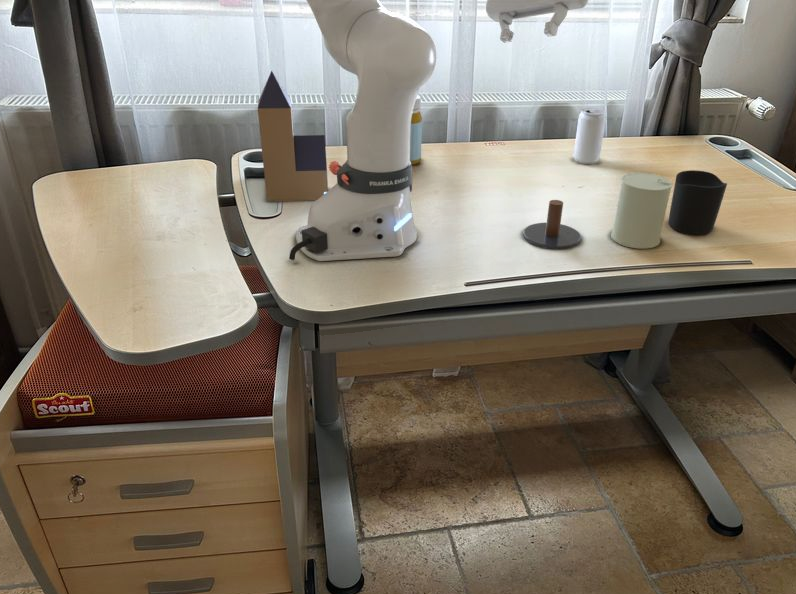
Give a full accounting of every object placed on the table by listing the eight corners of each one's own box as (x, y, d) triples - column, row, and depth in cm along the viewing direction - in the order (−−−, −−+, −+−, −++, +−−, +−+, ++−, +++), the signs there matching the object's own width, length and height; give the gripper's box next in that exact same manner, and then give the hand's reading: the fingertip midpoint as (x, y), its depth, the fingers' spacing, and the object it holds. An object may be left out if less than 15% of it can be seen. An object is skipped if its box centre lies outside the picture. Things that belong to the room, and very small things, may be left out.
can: (661, 251, 133) (675, 189, 127) (610, 245, 135) (622, 184, 128) (658, 231, 141) (671, 172, 134) (610, 226, 142) (621, 167, 136)
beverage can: (568, 157, 177) (574, 107, 170) (591, 155, 179) (599, 106, 172) (580, 165, 172) (587, 115, 165) (603, 164, 174) (612, 113, 167)
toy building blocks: (267, 201, 147) (254, 74, 134) (269, 170, 163) (257, 53, 149) (328, 199, 149) (321, 74, 136) (324, 168, 165) (318, 53, 151)
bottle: (425, 164, 169) (426, 99, 161) (397, 167, 167) (397, 101, 159) (414, 155, 175) (416, 91, 166) (387, 157, 172) (387, 93, 164)
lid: (541, 252, 131) (545, 216, 128) (513, 229, 140) (516, 195, 136) (591, 244, 135) (597, 209, 131) (561, 222, 143) (565, 188, 139)
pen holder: (719, 224, 145) (732, 176, 139) (708, 240, 138) (721, 191, 133) (672, 214, 149) (683, 167, 143) (660, 229, 142) (670, 180, 136)
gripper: (487, -40, 128) (470, 36, 128) (585, -64, 114) (566, 21, 115) (507, -22, 133) (491, 52, 133) (605, -43, 119) (586, 39, 119)
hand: (527, 38), depth 124 cm, fingers open, 8 cm apart
